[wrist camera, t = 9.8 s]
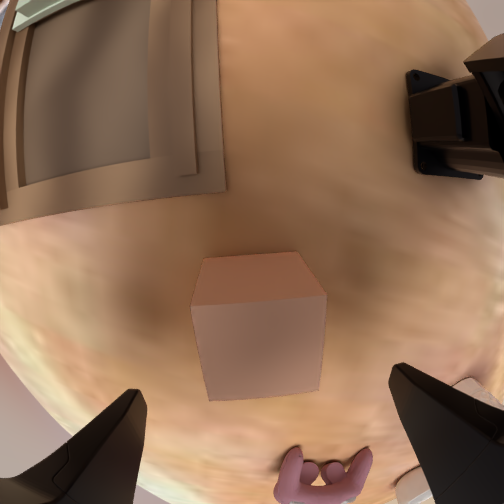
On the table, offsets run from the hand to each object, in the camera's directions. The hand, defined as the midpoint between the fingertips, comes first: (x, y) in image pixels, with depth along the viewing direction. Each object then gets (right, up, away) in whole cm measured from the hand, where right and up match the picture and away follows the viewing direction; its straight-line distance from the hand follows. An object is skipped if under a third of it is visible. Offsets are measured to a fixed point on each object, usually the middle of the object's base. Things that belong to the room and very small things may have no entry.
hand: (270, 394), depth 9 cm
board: (-11, +21, +1) cm, 23 cm away
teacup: (+25, -30, +19) cm, 43 cm away
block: (-1, +2, +7) cm, 8 cm away
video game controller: (+6, -16, +14) cm, 22 cm away
